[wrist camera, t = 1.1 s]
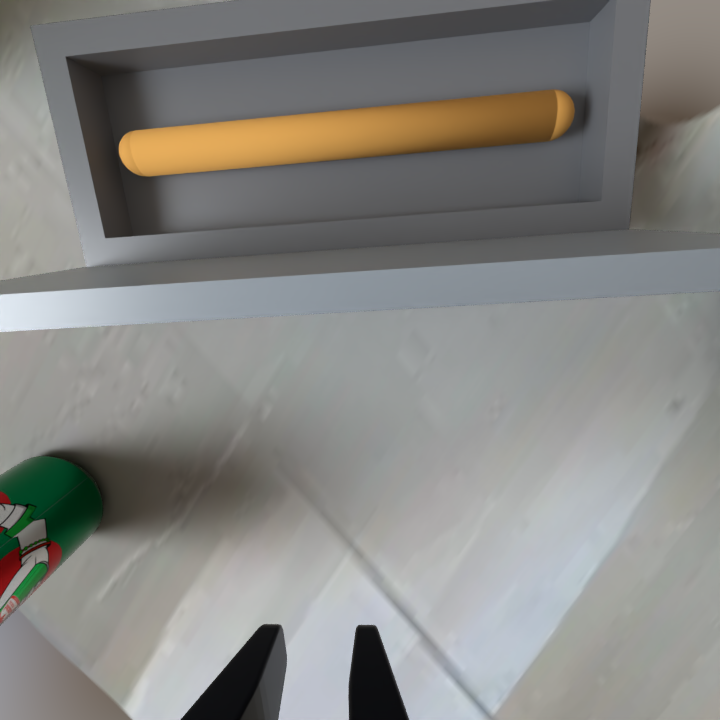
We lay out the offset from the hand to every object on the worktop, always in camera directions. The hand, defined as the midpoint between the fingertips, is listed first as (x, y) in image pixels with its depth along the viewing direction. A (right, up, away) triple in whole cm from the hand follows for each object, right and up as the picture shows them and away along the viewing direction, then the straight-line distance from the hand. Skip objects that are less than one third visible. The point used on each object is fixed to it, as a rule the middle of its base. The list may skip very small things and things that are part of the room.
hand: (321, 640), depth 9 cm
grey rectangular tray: (0, +14, +8) cm, 17 cm away
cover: (0, +9, +3) cm, 9 cm away
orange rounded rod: (0, +14, +7) cm, 16 cm away
